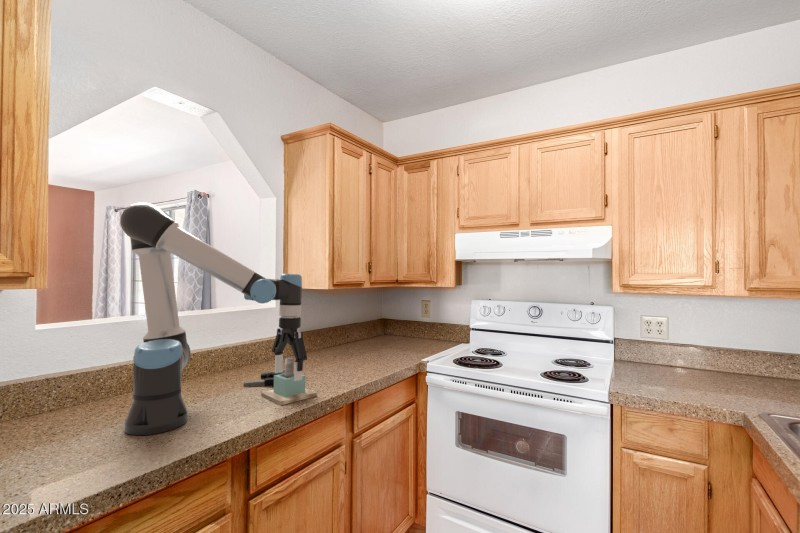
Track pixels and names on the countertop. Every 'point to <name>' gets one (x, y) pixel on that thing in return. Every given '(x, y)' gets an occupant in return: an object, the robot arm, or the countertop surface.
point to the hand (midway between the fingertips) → (287, 376)
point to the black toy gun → (267, 382)
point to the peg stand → (285, 400)
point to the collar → (288, 385)
